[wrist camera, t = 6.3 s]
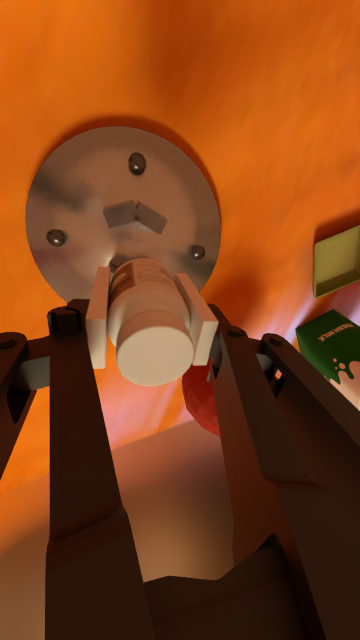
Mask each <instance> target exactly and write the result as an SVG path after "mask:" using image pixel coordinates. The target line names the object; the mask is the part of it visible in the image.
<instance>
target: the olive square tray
mask: <svg viewBox="0 0 360 640" xmlns="http://www.w3.org/2000/svg"><path fill="white" fill-rule="evenodd" d="M358 281H360V225H357V226H355V227H353V228H350V229H348V230H345V231H343V232H341V233H338V234H336V235H333V236H331V237H329V238H326V239H324V240H321V241H319V242H317V243H315V244H314V246H313V296H314V298H315V299H316V298H320V297H322V296H325V295H327V294H329V293H331V292H334V291H336V290H338V289H341V288H343V287H346V286H348V285H350V284H353V283H355V282H358Z"/></svg>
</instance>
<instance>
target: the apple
mask: <svg viewBox="0 0 360 640" xmlns="http://www.w3.org/2000/svg"><path fill="white" fill-rule="evenodd" d="M211 363H212V361H211V359H210V357H209V358H208V362H207V365H197V366H193V364H191V365H190V367H189V368H188V370H187V371H186V372H185V373H184V374H183V378H182V390H183V395H184V399H185V404H186V408H187V410H188V411H189V412H190V414H191V415H192V416H193V417H194V418H195V420H196V421H197V422H198V423H199V424H200V425H201V426H202V427H203V428H204V429H206V430H208V431H210V432H212V433H214V434H216V435H218V436H220V431H219V425H218V419H217V412H216V406H215V400H214V394H213V387H212V381H211V377H210V379H209V381H207V376H208V373H209V370H210V366H211Z"/></svg>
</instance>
